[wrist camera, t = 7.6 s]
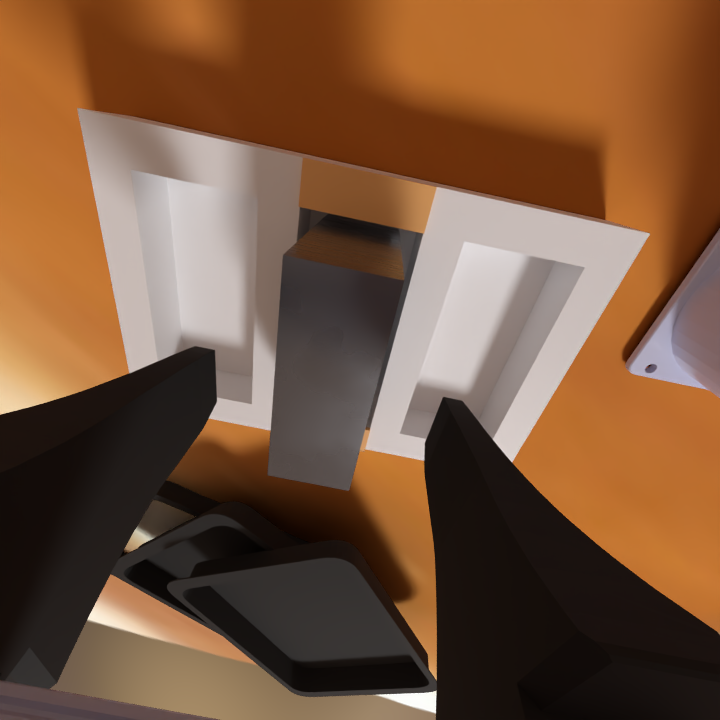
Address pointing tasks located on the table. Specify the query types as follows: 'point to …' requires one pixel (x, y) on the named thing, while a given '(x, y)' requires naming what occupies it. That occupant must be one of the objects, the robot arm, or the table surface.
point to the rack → (363, 202)
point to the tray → (280, 600)
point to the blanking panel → (331, 346)
